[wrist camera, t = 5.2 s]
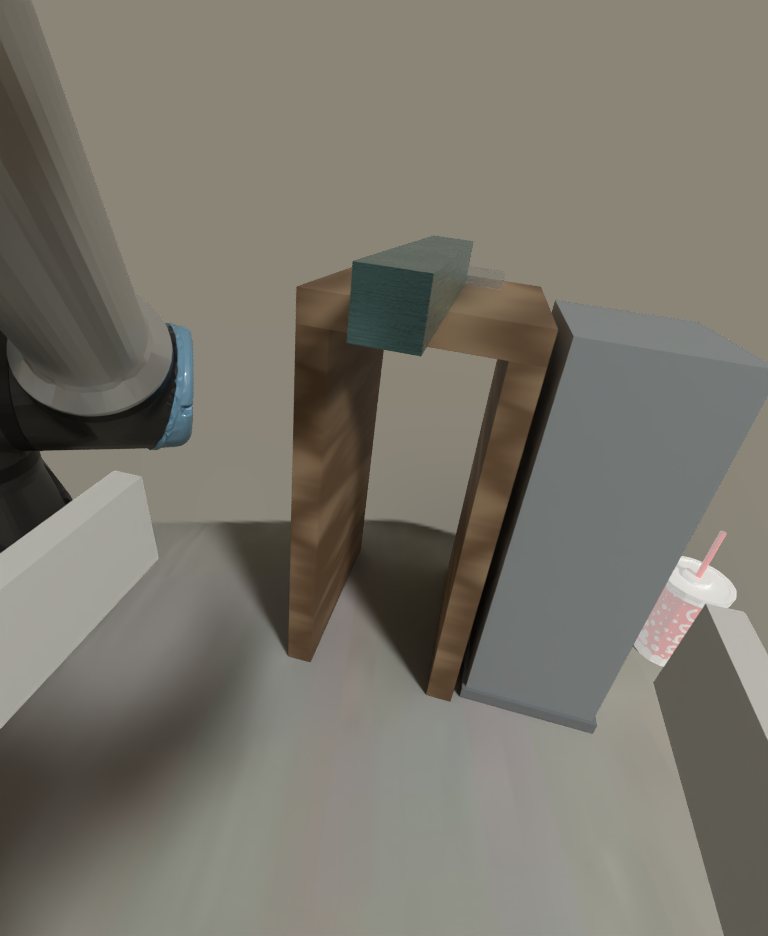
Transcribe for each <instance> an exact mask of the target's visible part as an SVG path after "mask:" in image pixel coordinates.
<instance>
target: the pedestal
mask: <svg viewBox="0 0 768 936" xmlns="http://www.w3.org/2000/svg"><path fill="white" fill-rule="evenodd" d="M552 315H553V318H554V320H555V323H556V325H557V328H558V332H557V336H556V339H555V342H554V346H553V349H552V353H551V356H550V360H549V363H548V367H547V370H546V374H545V377H544V380H543V384H542V387H541V391H540V394H539V398H538V401H537V405H536V408H535V411H534V415H533V418H532V422H531V425H530V429H529V432H528V436H527V439H526V442H525V446H524V449H523V453H522V456H521V460H520V463H519V467H518V470H517V474H516V477H515V480H514V484H513V487H512V491H511V494H510V498H509V501H508V505H507V508H506V511H505V515H504V518H503V522H502V525H501V529H500V532H499V536H498V539H497V542H496V546H495V549H494V553H493V556H492V560H491V563H490V567H489V570H488V574H487V577H486V580H485V584H484V587H483V591H482V594H481V598H480V601H479V605H478V608H477V611H476V615H475V618H474V622H473V625H472V629H471V632H470V636H469V639H468V642H467V646H466V649H465V653H464V660H463V669H462V679H461V689H460V697H463V698H467V699H470V700H474V701H478V702H481V703H485V704H488V705H492V706H496V707H499V708H503V709H506V710H510V711H514V712H517V713H521V714H524V715H528V716H531V717H535V718H539V719H542V720H546V721H549V722H553V723H557V724H560V725H564V726H567V727H571V728H574V729H578V730H582V731H585V732H589V733H592V734H593V732H594V730H595V728H596V727H597V724H596V718H595V715H596V714H597V712H598V710H599V708H600V706H601V704H602V702H603V701H604V699H605V697H606V695H607V693H608V691H609V689H610V688H611V686H612V684H613V682H614V680H615V678H616V676H617V675H618V673H619V671H620V669H621V667H622V665H623V663H624V662H625V660H626V658H627V656H628V654H629V652H630V651H631V649H632V647H633V645H634V643H635V641H636V639H637V638H638V636H639V634H640V632H641V630H642V628H643V626H644V625H645V623H646V621H647V619H648V617H649V615H650V613H651V612H652V610H653V608H654V606H655V604H656V602H657V600H658V599H659V597H660V595H661V593H662V591H663V589H664V588H665V586H666V584H667V582H668V580H669V578H670V576H671V575H672V573H673V571H674V569H675V567H676V565H677V563H678V562H679V560H680V558H681V556H682V554H683V552H684V550H685V549H686V547H687V545H688V543H689V541H690V539H691V537H692V536H693V534H694V532H695V530H696V528H697V526H698V524H699V523H700V521H701V519H702V517H703V515H704V513H705V512H706V510H707V508H708V506H709V504H710V502H711V500H712V499H713V497H714V495H715V493H716V491H717V489H718V487H719V486H720V484H721V482H722V480H723V478H724V476H725V474H726V473H727V471H728V469H729V467H730V465H731V463H732V461H733V459H734V458H735V456H736V454H737V452H738V450H739V448H740V446H741V445H742V443H743V441H744V439H745V437H746V436H747V434H748V432H749V430H750V428H751V426H752V424H753V423H754V421H755V419H756V417H757V415H758V413H759V411H760V409H761V408H762V406H763V404H764V402H765V400H766V398H767V396H768V362H766V361H764V360H763V359H761V358H759V357H757V356H756V355H754V354H752V353H751V352H749V351H747V350H745V349H744V348H742V347H740V346H739V345H737V344H735V343H733V342H732V341H730V340H728V339H727V338H725V337H723V336H721V335H720V334H718V333H716V332H715V331H713V330H711V329H709V328H708V327H706V326H704V325H703V324H701V323H699V322H693V321H687V320H680V319H674V318H668V317H661V316H654V315H647V314H642V313H635V312H629V311H622V310H616V309H610V308H603V307H597V306H589V305H584V304H577V303H571V302H565V301H558V300H555V303H554V306H553V310H552Z"/></svg>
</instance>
